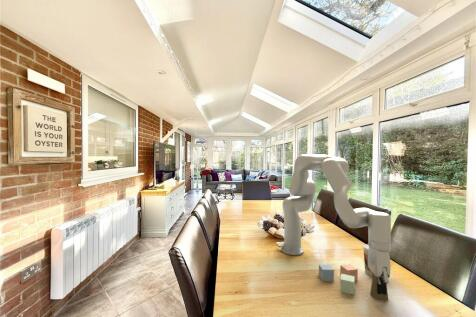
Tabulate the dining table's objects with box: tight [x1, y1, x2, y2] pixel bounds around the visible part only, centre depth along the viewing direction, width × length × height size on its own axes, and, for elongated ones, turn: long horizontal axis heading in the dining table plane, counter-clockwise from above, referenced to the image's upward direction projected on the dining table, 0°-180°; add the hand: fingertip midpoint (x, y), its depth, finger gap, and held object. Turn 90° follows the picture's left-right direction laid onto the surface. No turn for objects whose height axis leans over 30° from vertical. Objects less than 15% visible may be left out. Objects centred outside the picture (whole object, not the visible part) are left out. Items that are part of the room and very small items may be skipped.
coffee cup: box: [362, 243, 373, 277], centre depth 106 cm, size 9×9×12 cm
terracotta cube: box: [339, 263, 359, 282], centre depth 102 cm, size 5×5×5 cm
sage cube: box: [340, 274, 355, 295], centre depth 93 cm, size 5×5×5 cm
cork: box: [369, 272, 389, 302], centre depth 89 cm, size 6×6×11 cm
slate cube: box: [318, 263, 335, 282], centre depth 102 cm, size 5×5×5 cm
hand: (379, 290), depth 89 cm, fingers open, 4 cm apart
